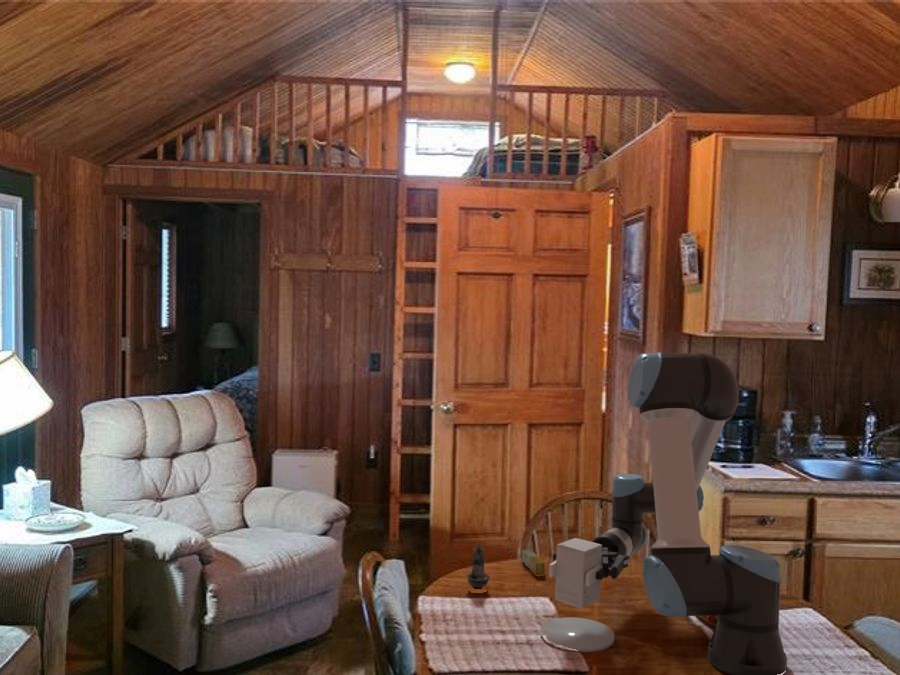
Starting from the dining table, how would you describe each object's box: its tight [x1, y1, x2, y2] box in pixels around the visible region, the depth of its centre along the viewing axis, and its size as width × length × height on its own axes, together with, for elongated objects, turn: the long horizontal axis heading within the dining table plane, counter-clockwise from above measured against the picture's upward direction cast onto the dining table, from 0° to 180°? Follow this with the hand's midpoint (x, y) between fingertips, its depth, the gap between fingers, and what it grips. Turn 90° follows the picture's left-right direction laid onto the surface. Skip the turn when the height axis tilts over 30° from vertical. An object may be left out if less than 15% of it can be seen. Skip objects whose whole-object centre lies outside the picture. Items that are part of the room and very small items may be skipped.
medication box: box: [521, 548, 546, 575], centre depth 218 cm, size 12×3×4 cm, turn 14°
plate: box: [540, 616, 615, 653], centre depth 174 cm, size 16×16×1 cm
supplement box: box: [554, 537, 602, 610], centre depth 174 cm, size 7×7×13 cm
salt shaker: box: [466, 543, 490, 589], centre depth 201 cm, size 6×6×12 cm
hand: (568, 575), depth 170 cm, fingers closed on supplement box, 8 cm apart
